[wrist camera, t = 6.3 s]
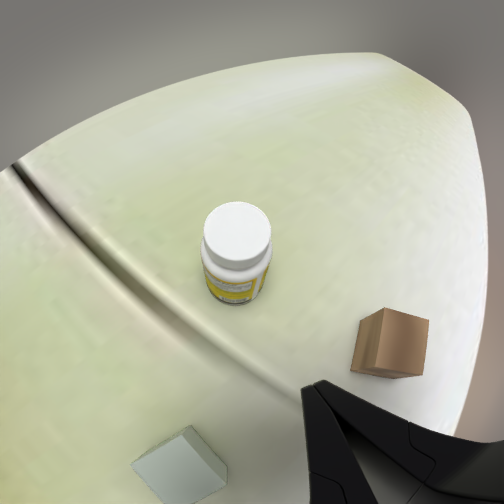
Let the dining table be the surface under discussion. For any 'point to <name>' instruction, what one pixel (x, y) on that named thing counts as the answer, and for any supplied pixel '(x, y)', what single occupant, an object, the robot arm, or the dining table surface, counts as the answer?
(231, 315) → the dining table surface
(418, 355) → the walnut block
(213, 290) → the supplement bottle
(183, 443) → the painted block
